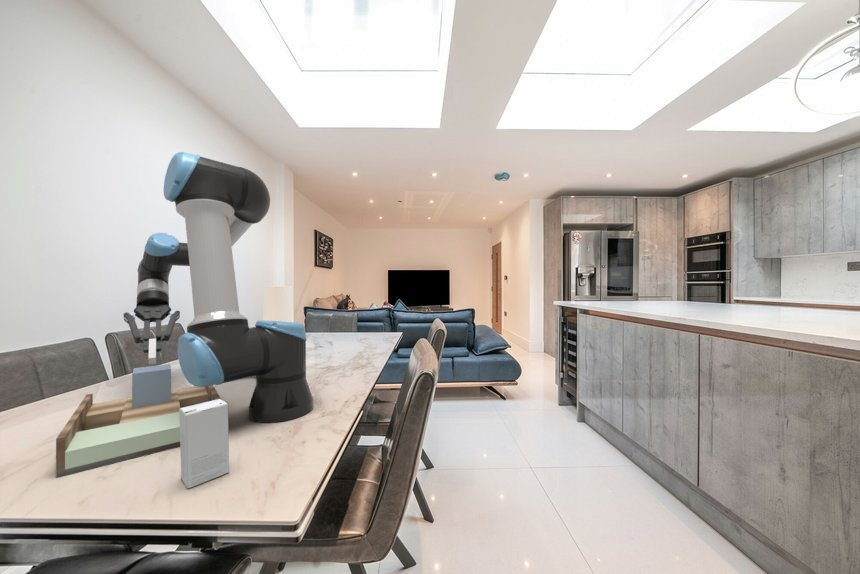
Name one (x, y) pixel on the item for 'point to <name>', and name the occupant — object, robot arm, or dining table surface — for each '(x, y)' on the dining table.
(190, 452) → the skincare box
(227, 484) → the dining table surface
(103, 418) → the box
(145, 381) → the slate block
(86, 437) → the pad
